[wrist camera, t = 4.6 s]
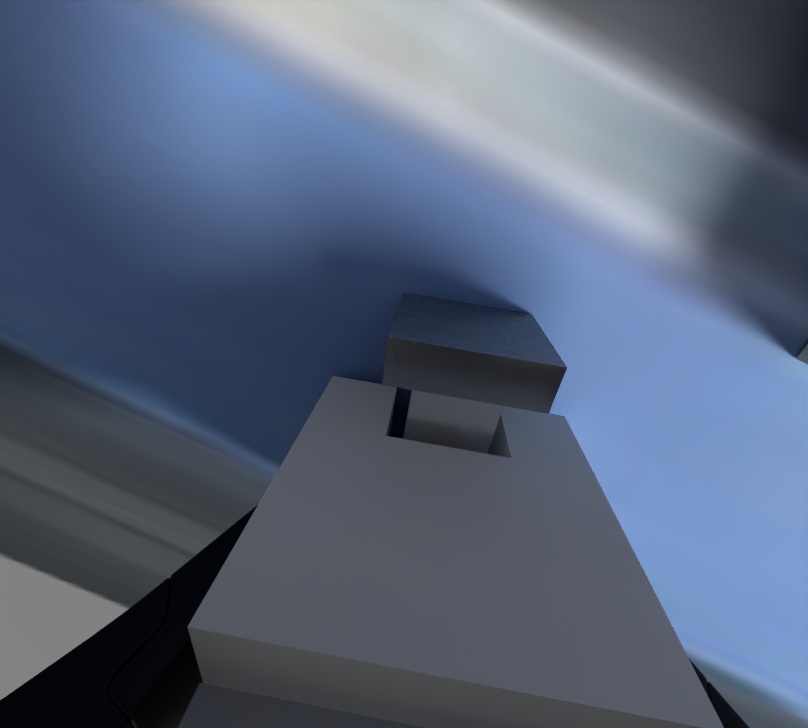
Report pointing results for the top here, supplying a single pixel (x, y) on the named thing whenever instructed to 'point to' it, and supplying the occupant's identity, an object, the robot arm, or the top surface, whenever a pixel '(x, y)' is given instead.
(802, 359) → the cabinet
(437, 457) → the carriage
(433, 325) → the rail
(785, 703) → the top surface
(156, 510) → the top surface
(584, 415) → the top surface
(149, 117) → the top surface
